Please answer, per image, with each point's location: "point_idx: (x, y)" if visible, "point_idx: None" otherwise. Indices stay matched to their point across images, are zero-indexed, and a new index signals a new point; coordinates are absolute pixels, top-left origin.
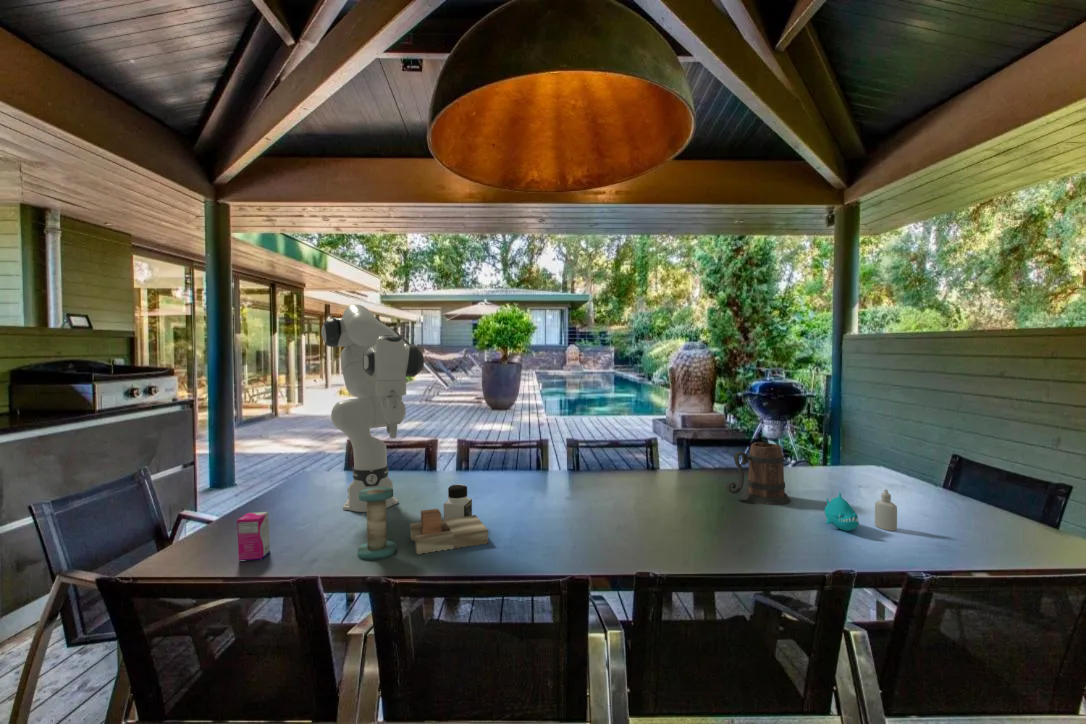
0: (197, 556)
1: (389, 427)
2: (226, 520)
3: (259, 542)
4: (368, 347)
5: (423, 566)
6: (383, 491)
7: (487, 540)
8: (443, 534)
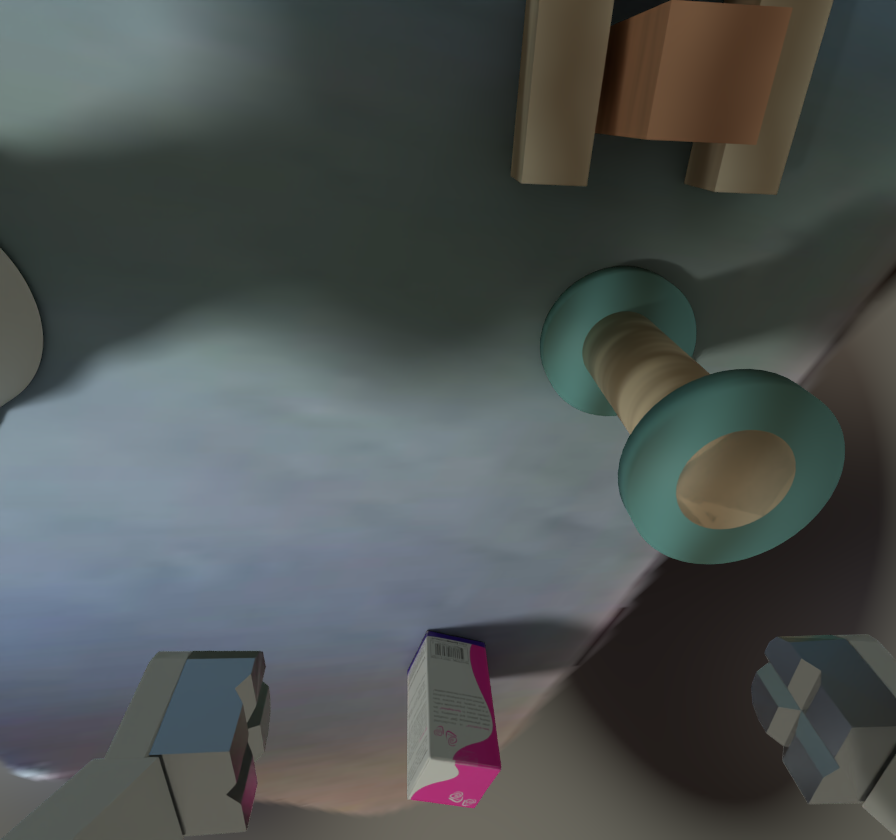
0: (374, 755)
1: (234, 794)
2: (58, 754)
3: (490, 692)
4: None
5: (869, 184)
6: (769, 444)
7: None
8: (797, 27)
